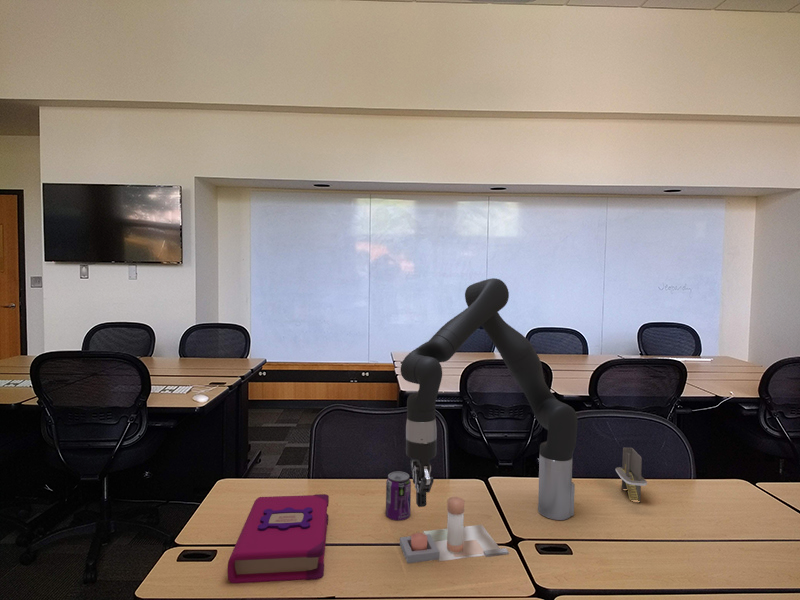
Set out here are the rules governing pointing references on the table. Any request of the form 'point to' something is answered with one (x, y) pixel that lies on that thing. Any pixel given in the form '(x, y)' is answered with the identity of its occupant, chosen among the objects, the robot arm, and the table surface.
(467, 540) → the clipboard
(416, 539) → the button
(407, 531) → the table surface
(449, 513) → the marker
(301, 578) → the book
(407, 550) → the button housing
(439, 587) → the table surface
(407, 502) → the beverage can
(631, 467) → the architectural model
